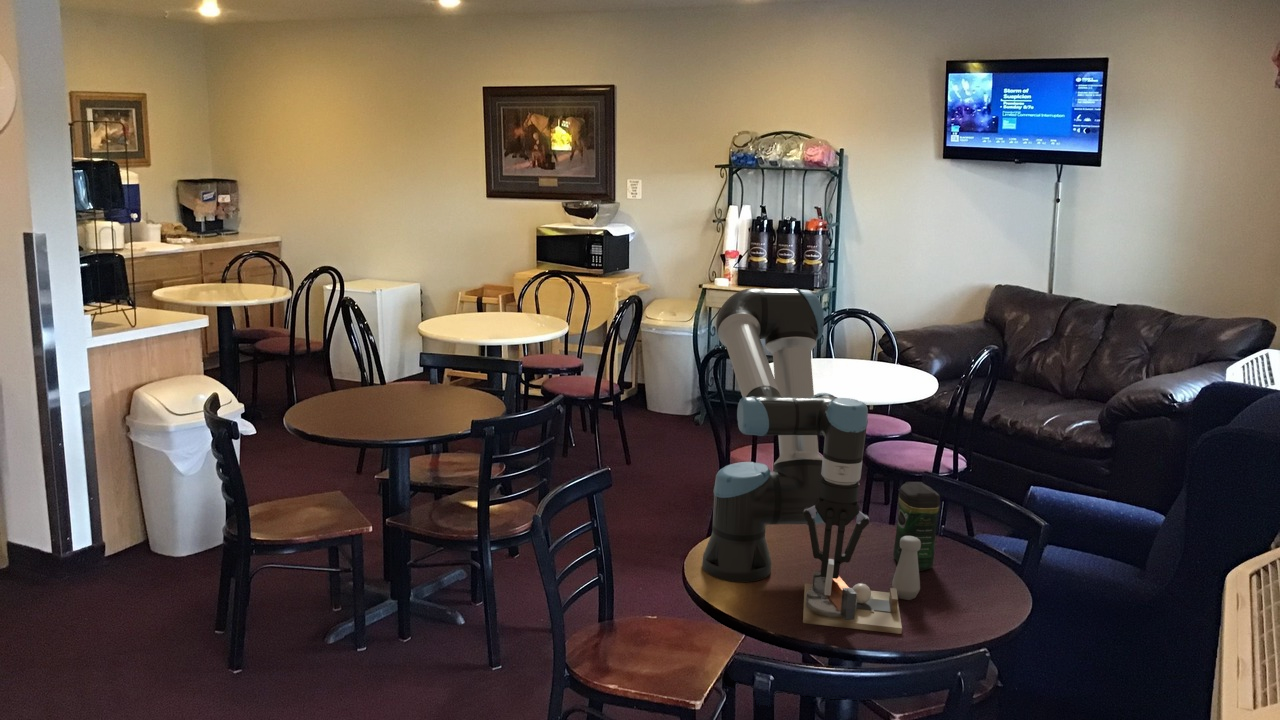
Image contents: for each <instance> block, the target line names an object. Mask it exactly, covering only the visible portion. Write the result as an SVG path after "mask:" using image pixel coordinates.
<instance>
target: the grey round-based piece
mask: <svg viewBox="0 0 1280 720" xmlns="http://www.w3.org/2000/svg"><path fill="white" fill-rule="evenodd" d="M825 581H826V577H821V570H817V571H814V572H813V575H812V584H813V587H812V589H810V590H809V591H808V592H807V597H806V606H807V608H808V609H809V610H810V611H812V612H814V613H816V614H818V615H821V616H825V617H832V618H844V619H845V620H854V617H855V612H856V608H857V598H856V595H857V593H856V592H855V591H854V590H853V589H852V588H853V587H849V586H848V584H846V582H845V581H844V580H843V578H841V576H839V577H838V579H834V578H832V587H831V595H824V592H825Z"/></svg>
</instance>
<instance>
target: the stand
mask: <svg viewBox="0 0 1280 720" xmlns="http://www.w3.org/2000/svg"><path fill="white" fill-rule="evenodd" d="M812 587H813V583H804V589H803V590H804V592H803V612H802V613H803V614H802V624H809V625H816V626H817V625H819V626H827V627H828V626H829V627H836V628H845V629H855V630H862V631H863V630H864V631H870V632H871V631H872V632H882V633H888V634H889V633H892V634H898V635H901V634H902V632H903V630H902V629H903V626H902V620H901V613H900V607H899V606H900V605H899V598H898V596H897V590H896V588H893V587H890V588H889V592H888V591H887V592H886V591H877V590H871V597H870V599H869V600H868V601H867V602H866V603H857V608H856V612H855V617H854V620H845V619H844V618H832V617H825V616H821V615H818V614H816V613H814V612H812V611H810V610H809V609H808V608H807V606H806V597H807V592H808V591H809V590H810V589H812Z"/></svg>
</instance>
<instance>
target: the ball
mask: <svg viewBox="0 0 1280 720" xmlns="http://www.w3.org/2000/svg"><path fill="white" fill-rule="evenodd" d="M851 588H852V589H853V590H854V591H855V592H856V593H857V595H856V598H857V603H866V602H867V601H868V600H869V599H870V597H871V591H872V590H871V589H870V587H869V586H868V585H867V584H866V583H863V582H860V583H856V584H855V585H853V587H851Z"/></svg>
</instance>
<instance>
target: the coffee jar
mask: <svg viewBox="0 0 1280 720" xmlns="http://www.w3.org/2000/svg"><path fill="white" fill-rule="evenodd" d="M940 498H941V496H940V494H939V493H938V492H937V491H935V490H934V489H933V488H932V487H930V485H927V484H925V483H924V482H922V481H905V483H903V484H902V485H901V486H900V488H899V495H898V513H897V515H898V516H897V522H896V530H895V531H896V532H895V538H894V546H893V554H892V555H893V558H894V560H895V561H896V562H897V563H898V562H899V559H900V555H901V551H902V549H901V548H900V539H901V538H902V537H904V536H914V537H916V538H918V539H919V540H920V541H921V548H920V550H919V551H917V555H918V567H919V572H920V571H926V570H931V569H932V568H933V566H934V560H935V559H934V558H935V548H936V546H935V545H936V534H937V533H936V532H937V524H938V523H937V521H938V514H939V510H940V504H941V503H940V501H941V499H940Z"/></svg>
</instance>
